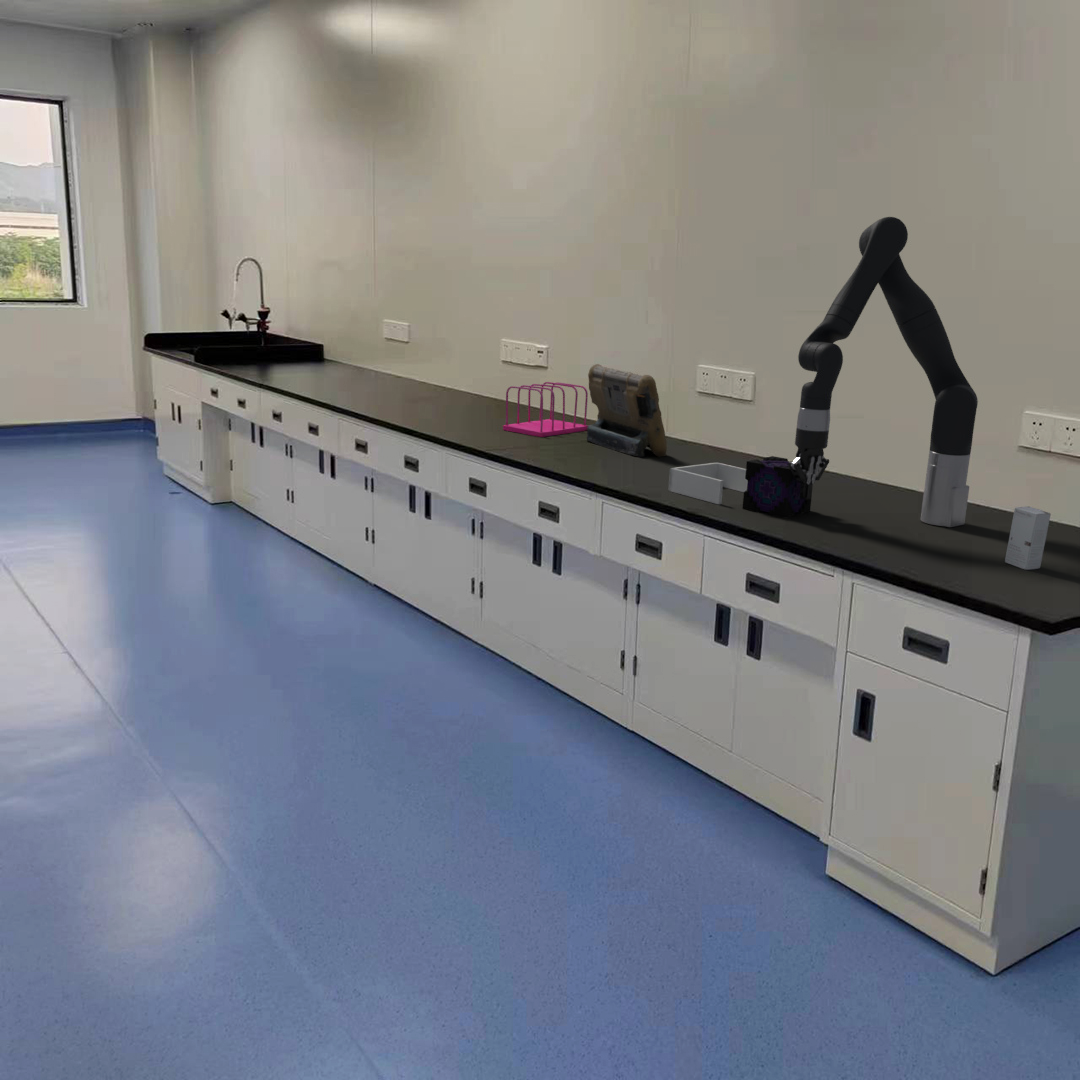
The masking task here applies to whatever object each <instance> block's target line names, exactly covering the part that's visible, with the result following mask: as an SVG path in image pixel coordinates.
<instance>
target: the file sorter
mask: <svg viewBox="0 0 1080 1080" xmlns="http://www.w3.org/2000/svg"><path fill="white" fill-rule="evenodd" d="M562 386H563V387H568V388H572V389H573V390H574V392H575V400H574V402H575V403H574V413H573V414H574V415H573V422H569V421H565V419H566V418H565V417H566V414H565V413H566V410H565V409H566V408H565V407H566V395H565V394H566V393H565V390H564V388H563V387H562ZM554 388H556V389H560V390H561V393H562V420H560V419H559V420H557V419H555V392H554ZM577 388H581V389H583V390H584V391H585V401H584V402H585V403H584V417H583V419H584V420H583V424H582V423H577V422H576V420H577V407H578V395H579V393H578V389H577ZM511 389H517V405H516V406H517V410H516V411H517V415H516V416H517V418H516V419H517V420H516V422H517V423H510V424H509V421H508V420H509V392H510V390H511ZM521 390H528V394H527V395H528V399H527V400H528V403H527V405H528V407H527V408H528V410H527V411H528V413H527V414H528V415H527V418H528V419H527V420H528V421H526V422H520V394H521ZM544 390H546V391H547V390H548V391H550V406H549V418H547V419H544V395H543V392H544ZM531 391H534V392H535V391H537V392H538V394H539V395H540V397H539V398H540V400H539V403H540V404H539V417H538V420H531ZM588 395H589V394H588V390H587V388H586V387H585V386H584V385H580V384H572V383H565V382H559V381H558V382H553V381H552V382H550V381H545V382H543V383H541V384H539V383H533V384H531V385H525V384H522V385H520V386H514V385H512V386H509V387H508V388H507V389H506V393H505V424H504V425H502V430H503V431H506V432H511V433H512V432H513V433H517V434H523V435H528V436H533V437H539V438H546V437H552V436H558V435H565V434H572V433H578V432H579V433H580V432H585V431H586V432H587V427H588V425H587V411H588Z"/></svg>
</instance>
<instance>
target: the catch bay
mask: <svg viewBox="0 0 1080 1080" xmlns="http://www.w3.org/2000/svg"><path fill="white" fill-rule="evenodd" d="M668 473H669V474H668V487H667V488H668V492H672V493H675V494H679V495H683V496H685V497H690V498H694V499H697V500H701V501H704V502H707V503H711V504H712V503H713V504H715V505H722V500H723V499H722V498H723V489H724V488H726V489H730V490H734V491H737V492H741V493H744V492H745V491H746V490H747V483H748V480H746V479H745V475H746V468H744V467H738V466H734V465H730V464H725V463H722V462H718V461H717V462H709V463H701V464H693V465H685V466H678V467H677V466H676V467H670V468H669V472H668Z"/></svg>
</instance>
